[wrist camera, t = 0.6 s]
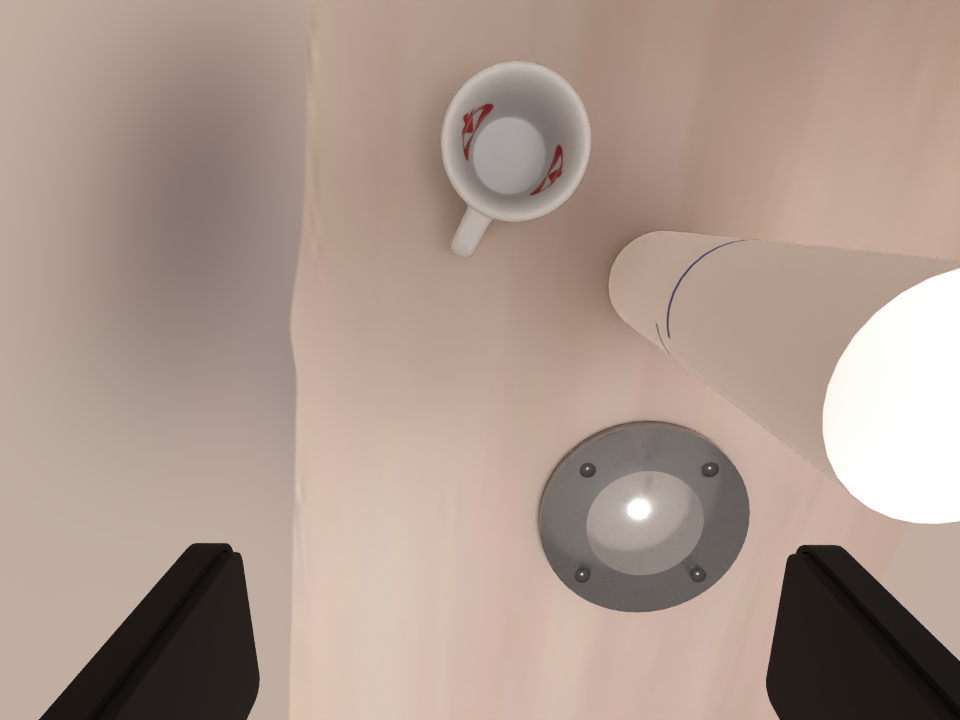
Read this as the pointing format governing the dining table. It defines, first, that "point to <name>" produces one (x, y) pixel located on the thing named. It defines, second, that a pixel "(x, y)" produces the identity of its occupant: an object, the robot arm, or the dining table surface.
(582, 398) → the dining table surface
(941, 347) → the cylindrical container
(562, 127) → the cup
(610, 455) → the flange plate
